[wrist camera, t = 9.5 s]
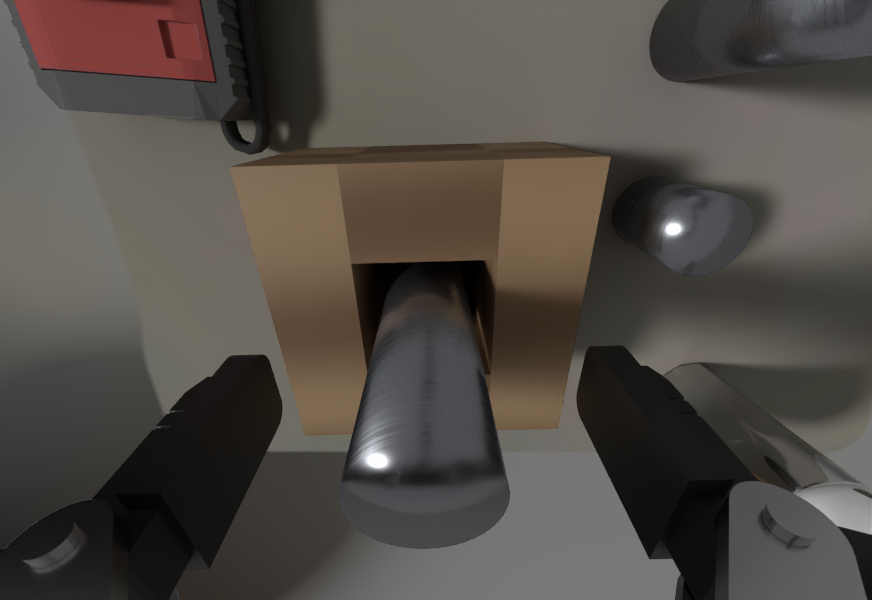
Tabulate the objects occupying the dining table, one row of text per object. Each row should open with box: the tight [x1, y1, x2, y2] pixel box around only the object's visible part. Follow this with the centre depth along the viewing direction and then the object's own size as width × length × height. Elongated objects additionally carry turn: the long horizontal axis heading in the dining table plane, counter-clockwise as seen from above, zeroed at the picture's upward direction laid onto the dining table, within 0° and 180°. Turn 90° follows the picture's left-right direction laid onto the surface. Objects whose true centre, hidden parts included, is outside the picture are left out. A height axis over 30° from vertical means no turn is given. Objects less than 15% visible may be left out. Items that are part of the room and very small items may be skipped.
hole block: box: [230, 142, 611, 435], centre depth 14 cm, size 10×10×6 cm
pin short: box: [612, 176, 753, 277], centre depth 14 cm, size 3×3×4 cm
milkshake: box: [663, 363, 872, 535], centre depth 16 cm, size 4×5×10 cm
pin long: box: [338, 261, 510, 549], centre depth 11 cm, size 3×3×12 cm
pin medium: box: [650, 0, 872, 82], centre depth 10 cm, size 3×3×7 cm
